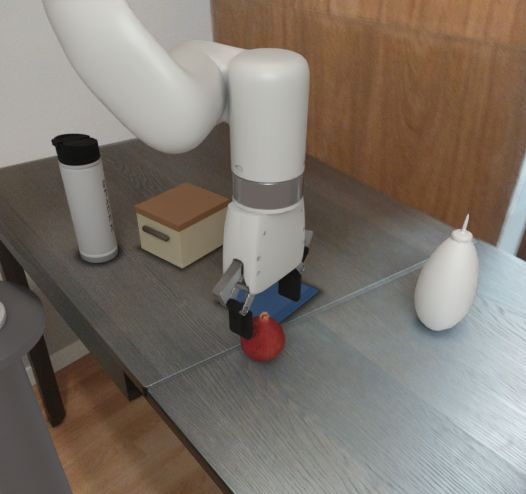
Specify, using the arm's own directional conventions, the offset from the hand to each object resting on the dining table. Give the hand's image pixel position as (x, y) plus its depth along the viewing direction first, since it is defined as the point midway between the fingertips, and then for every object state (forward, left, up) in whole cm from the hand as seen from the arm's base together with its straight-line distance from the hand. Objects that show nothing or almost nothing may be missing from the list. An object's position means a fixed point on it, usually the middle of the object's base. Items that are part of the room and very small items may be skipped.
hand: (266, 315), depth 67 cm
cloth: (+12, +8, -8) cm, 16 cm away
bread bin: (+15, +29, -8) cm, 34 cm away
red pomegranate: (0, 0, -8) cm, 8 cm away
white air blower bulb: (+22, -15, -8) cm, 27 cm away
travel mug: (+3, +38, -8) cm, 39 cm away
